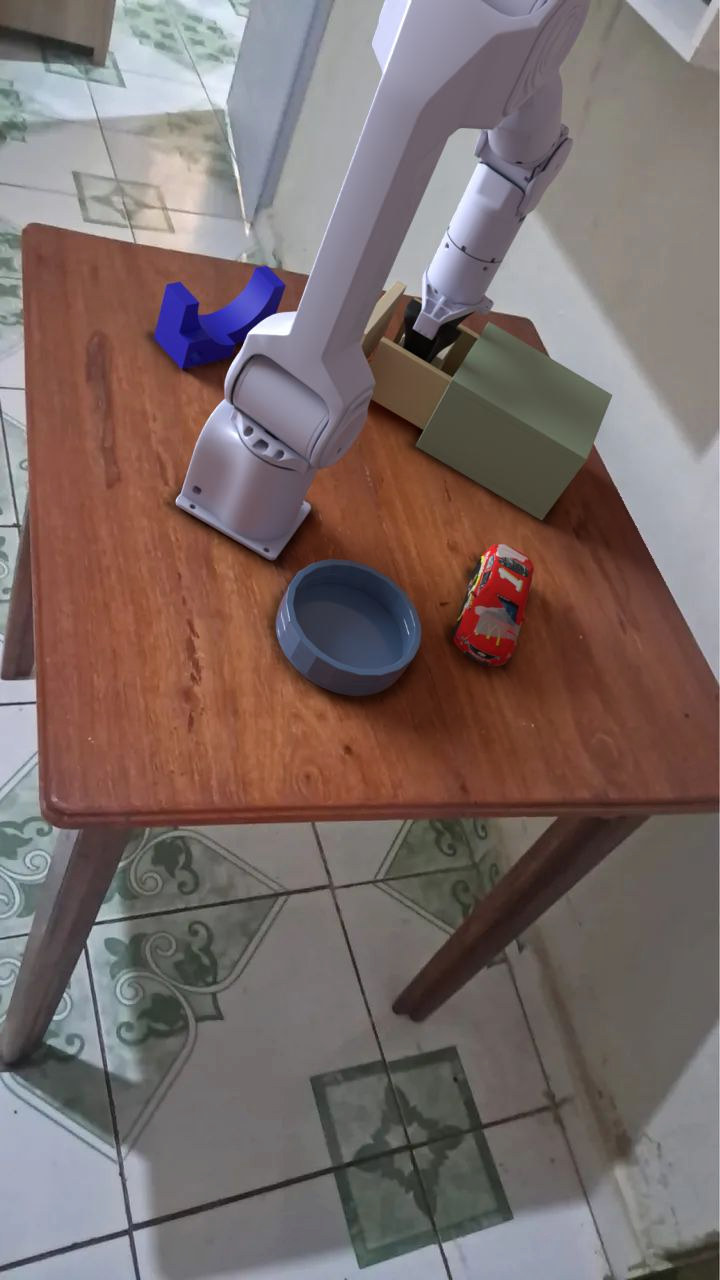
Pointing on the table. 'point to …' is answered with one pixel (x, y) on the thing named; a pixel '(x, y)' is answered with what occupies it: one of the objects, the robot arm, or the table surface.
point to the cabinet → (516, 421)
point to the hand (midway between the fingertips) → (416, 362)
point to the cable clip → (214, 320)
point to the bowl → (347, 627)
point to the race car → (494, 606)
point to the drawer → (408, 364)
